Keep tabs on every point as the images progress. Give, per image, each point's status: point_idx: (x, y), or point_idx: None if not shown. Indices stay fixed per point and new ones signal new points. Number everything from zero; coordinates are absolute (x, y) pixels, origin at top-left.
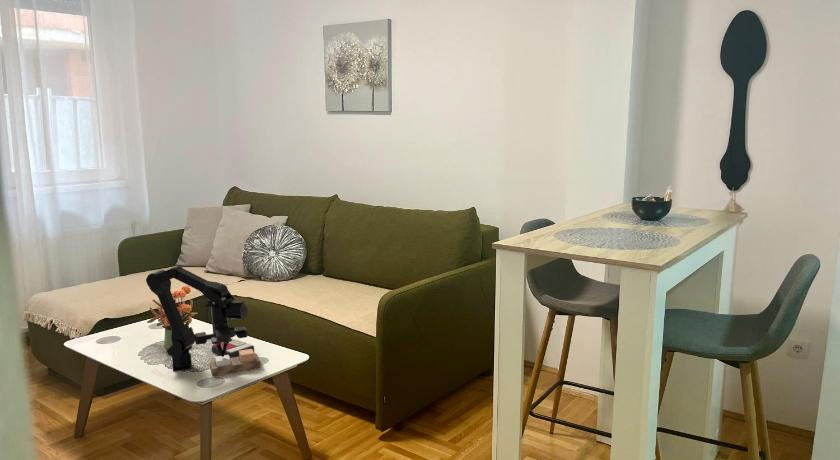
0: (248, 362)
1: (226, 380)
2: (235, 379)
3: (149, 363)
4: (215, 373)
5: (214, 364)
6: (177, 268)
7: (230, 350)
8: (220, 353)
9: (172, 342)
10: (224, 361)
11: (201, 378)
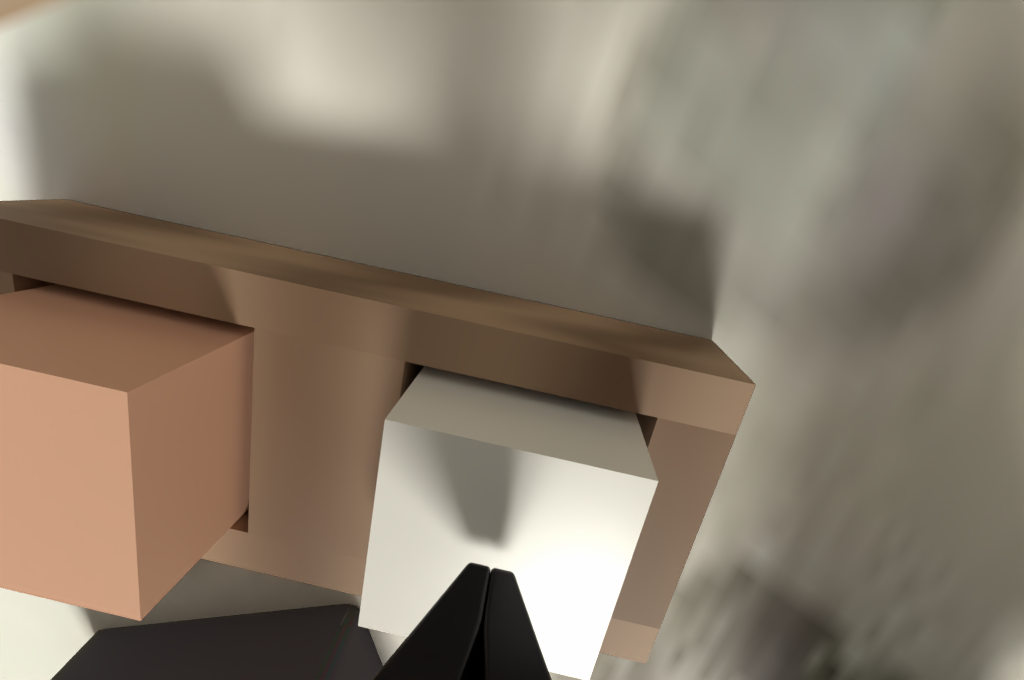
0: (128, 265)
1: (607, 61)
2: (477, 7)
3: None
4: (676, 342)
5: None
6: None
7: None
8: (535, 641)
9: None
10: (502, 433)
11: (858, 370)
